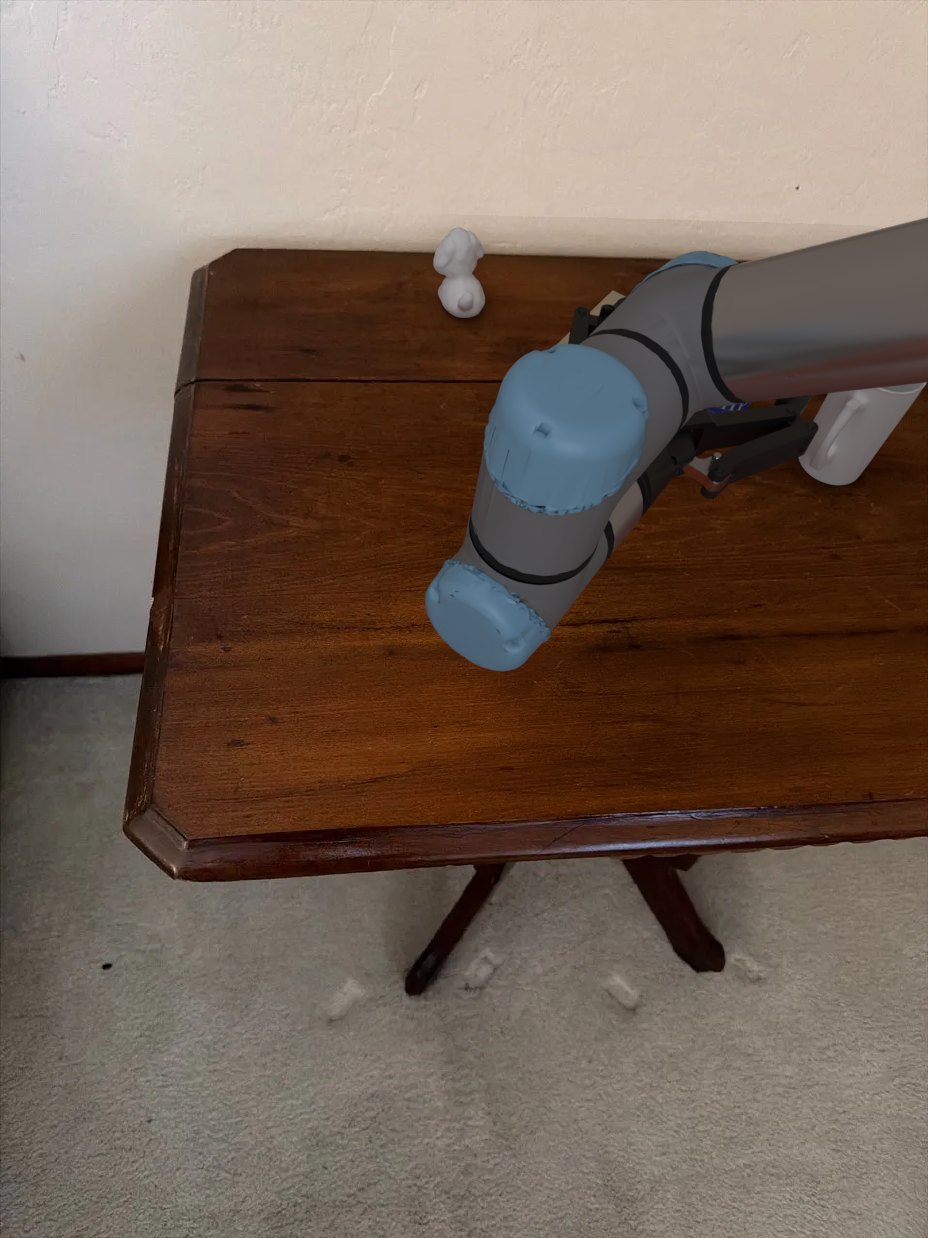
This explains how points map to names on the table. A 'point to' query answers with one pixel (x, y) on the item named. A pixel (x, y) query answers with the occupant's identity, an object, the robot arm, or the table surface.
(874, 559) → the table surface
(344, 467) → the table surface
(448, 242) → the figurine
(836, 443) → the mug
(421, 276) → the table surface
